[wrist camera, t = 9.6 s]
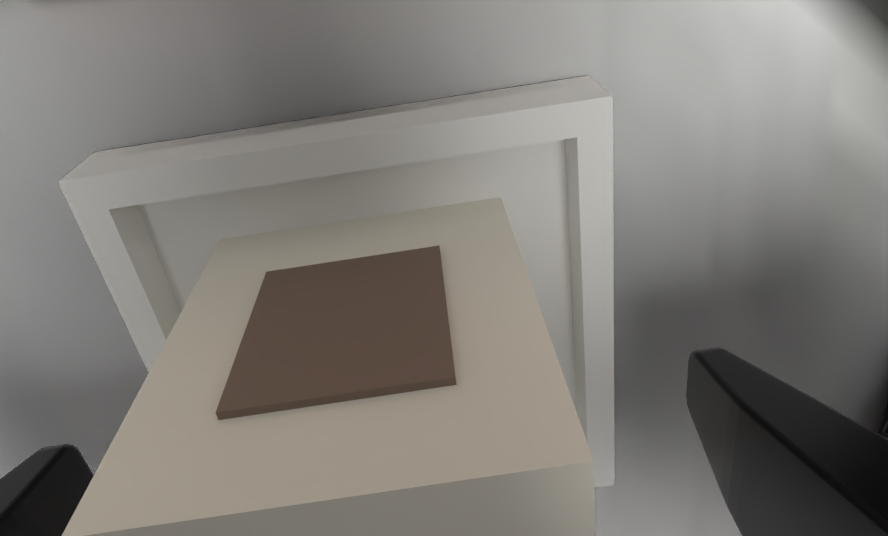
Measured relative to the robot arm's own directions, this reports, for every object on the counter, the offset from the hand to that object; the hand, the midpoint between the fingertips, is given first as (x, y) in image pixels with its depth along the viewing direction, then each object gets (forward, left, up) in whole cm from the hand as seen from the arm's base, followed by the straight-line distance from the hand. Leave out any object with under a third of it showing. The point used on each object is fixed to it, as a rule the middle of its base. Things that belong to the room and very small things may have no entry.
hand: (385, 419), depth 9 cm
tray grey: (0, 0, -3) cm, 3 cm away
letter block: (0, 0, -2) cm, 2 cm away
